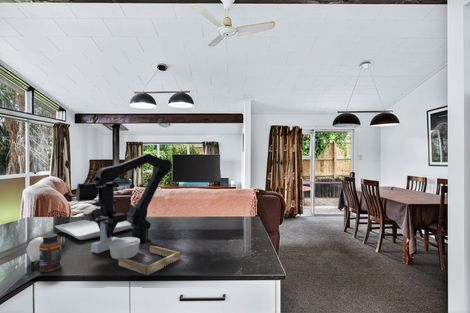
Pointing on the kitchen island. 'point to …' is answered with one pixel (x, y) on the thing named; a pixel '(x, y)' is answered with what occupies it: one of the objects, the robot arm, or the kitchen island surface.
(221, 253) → the kitchen island surface
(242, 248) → the kitchen island surface
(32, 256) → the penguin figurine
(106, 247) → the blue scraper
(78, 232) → the square plate
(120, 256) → the ramekin
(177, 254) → the oak corral
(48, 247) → the supplement bottle
